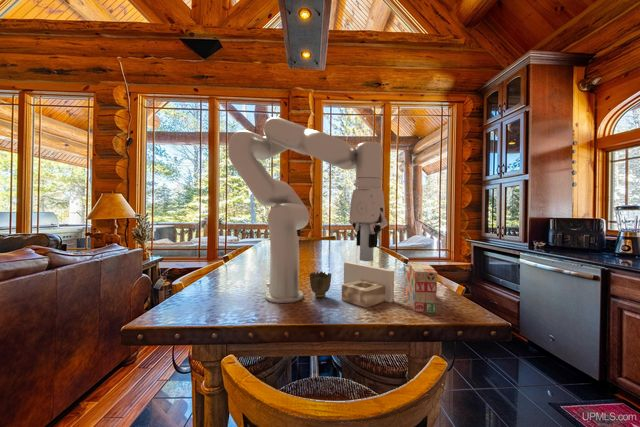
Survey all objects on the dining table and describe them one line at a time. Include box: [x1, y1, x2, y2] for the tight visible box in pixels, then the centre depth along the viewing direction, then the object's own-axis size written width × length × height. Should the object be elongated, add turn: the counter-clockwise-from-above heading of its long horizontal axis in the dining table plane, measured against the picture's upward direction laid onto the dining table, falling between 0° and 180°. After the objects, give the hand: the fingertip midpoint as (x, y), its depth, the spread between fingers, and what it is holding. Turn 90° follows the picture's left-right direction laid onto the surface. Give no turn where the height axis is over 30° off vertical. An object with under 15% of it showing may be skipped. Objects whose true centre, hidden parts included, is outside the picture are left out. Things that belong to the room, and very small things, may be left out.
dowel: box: [359, 223, 375, 262], centre depth 86 cm, size 4×4×12 cm
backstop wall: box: [343, 261, 395, 303], centre depth 100 cm, size 20×2×10 cm, turn 44°
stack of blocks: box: [403, 262, 438, 314], centre depth 94 cm, size 21×6×12 cm, turn 172°
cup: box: [308, 270, 332, 299], centre depth 97 cm, size 8×7×8 cm
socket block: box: [341, 280, 386, 309], centre depth 94 cm, size 10×10×5 cm
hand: (366, 245), depth 86 cm, fingers closed on dowel, 4 cm apart
